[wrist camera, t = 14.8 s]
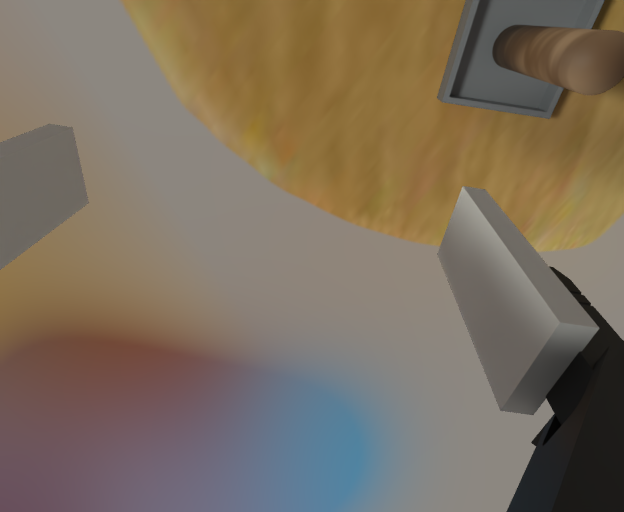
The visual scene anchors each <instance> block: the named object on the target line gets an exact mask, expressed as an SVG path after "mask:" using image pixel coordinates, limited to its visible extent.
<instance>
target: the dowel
mask: <svg viewBox="0 0 624 512" xmlns="http://www.w3.org/2000/svg"><path fill="white" fill-rule="evenodd" d="M492 55H493V59H494V61H495V63H496V64H497V65H498V66H500V67H502V68H505V69H508V70H511V71H514V72H517V73H520V74H523V75H526V76H529V77H532V78H535V79H538V80H541V81H544V82H547V83H550V84H553V85H556V86H559V87H562V88H565V89H568V90H571V91H574V92H577V93H580V94H584V95H597V94H600V93H603V92H605V91H607V90H609V89H611V88H612V87H614V86H615V85H616V84H617V83H619V82H620V81H621V80H622V78H623V77H624V33H623V32H620V31H612V30H596V29H580V28H564V27H548V26H532V25H513V26H510V27H508V28H506V29H505V30H503V31H502V32H501V33H500V34H499V35H498V37H497V38H496V40H495V42H494V45H493V49H492Z"/></svg>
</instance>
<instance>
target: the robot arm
mask: <svg viewBox="0 0 624 512" xmlns="http://www.w3.org/2000/svg"><path fill="white" fill-rule="evenodd" d="M88 203H89V202H88V197H87V193H86V188H85V183H84V179H83V174H82V169H81V165H80V160H79V156H78V151H77V146H76V141H75V137H74V132H73V128H72V127H67V126H60V125H53V124H48V125H45V126H43V127H40V128H37V129H34V130H32V131H29V132H26V133H24V134H21V135H19V136H16V137H13V138H11V139H8V140H6V141H3V142H0V270H1V269H2V268H3V267H5V266H6V265H7V264H8V263H10V262H11V261H12V260H14V259H15V258H16V257H18V256H19V255H20V254H22V253H23V252H24V251H26V250H27V249H28V248H30V247H31V246H32V245H34V244H35V243H36V242H38V241H39V240H40V239H42V238H43V237H44V236H45V235H47V234H48V233H50V232H51V231H52V230H54V229H55V228H56V227H57V226H59V225H60V224H62V223H63V222H64V221H65V220H67V219H68V218H69V217H71V216H72V215H73V214H75V213H76V212H77V211H79V210H80V209H81V208H83V207H84V206H85V205H86V204H88ZM437 255H438V257H439V260H440V262H441V265H442V267H443V270H444V272H445V275H446V277H447V280H448V282H449V285H450V287H451V290H452V292H453V294H454V297H455V299H456V302H457V304H458V307H459V309H460V312H461V314H462V317H463V319H464V321H465V324H466V327H467V329H468V331H469V334H470V337H471V339H472V341H473V344H474V346H475V349H476V351H477V354H478V356H479V359H480V361H481V364H482V366H483V369H484V371H485V374H486V376H487V379H488V381H489V384H490V386H491V388H492V391H493V393H494V396H495V398H496V401H497V403H498V406H499V408H500V410H501V411H507V412H514V413H521V414H529V415H534V413H535V412H536V411H537V410H538V408H539V407H540V406H541V404H542V403H543V402H544V400H545V399H546V398H547V400H548V402H549V404H550V406H551V407H552V409H553V411H554V413H555V414H554V415H553V416H552V418H551V419H550V420H549V421H548V423H547V424H546V425H545V426H544V427H543V429H542V430H541V431H540V432H539V434H538V435H537V436H536V437H535V438H534V440H533V441H532V444H534V445H535V446H536V448H535V451H534V453H533V455H532V457H531V459H530V461H529V464H528V466H527V468H526V470H525V472H524V475H523V477H522V479H521V481H520V483H519V486H518V488H517V490H516V492H515V494H514V497H513V499H512V501H511V503H510V505H509V508H508V510H507V512H624V341H623V340H622V339H621V338H620V337H619V336H618V334H617V333H616V332H615V331H614V330H613V329H612V327H611V326H610V325H609V324H608V323H607V322H606V320H605V319H604V318H603V317H602V316H601V315H600V313H599V312H598V311H597V310H596V309H595V308H594V307H593V306H591V303H590V302H589V301H588V300H587V298H586V297H585V296H584V295H581V292H580V290H579V289H578V288H577V287H576V286H575V285H574V284H573V282H572V281H571V280H570V279H569V278H567V277H566V276H565V275H563V274H562V273H560V272H559V271H557V270H556V269H555V268H553V267H549V266H548V265H547V264H546V263H545V261H544V260H543V259H542V258H541V257H540V255H539V254H538V253H537V252H536V251H535V249H534V248H533V247H532V246H531V244H530V243H529V242H528V241H527V240H526V238H525V237H524V236H523V235H522V234H521V232H520V231H519V230H518V229H517V228H516V226H515V225H514V224H513V223H512V221H511V220H510V219H509V218H508V217H507V215H506V214H505V213H504V212H503V211H502V209H501V208H500V207H499V206H498V204H497V203H496V202H495V201H494V200H493V198H492V197H491V196H490V195H489V194H488V192H487V191H486V190H485V189H478V188H472V187H465V186H463V187H462V190H461V193H460V195H459V198H458V200H457V203H456V206H455V208H454V211H453V214H452V216H451V219H450V222H449V224H448V227H447V229H446V232H445V235H444V237H443V240H442V243H441V245H440V248H439V251H438V253H437Z"/></svg>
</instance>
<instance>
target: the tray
mask: <svg viewBox="0 0 624 512" xmlns="http://www.w3.org/2000/svg"><path fill="white" fill-rule="evenodd" d="M604 1H605V0H466V2H465V5H464V9H463V12H462V15H461V19H460V22H459V25H458V29H457V32H456V35H455V39H454V42H453V46H452V49H451V52H450V56H449V59H448V62H447V66H446V69H445V73H444V76H443V79H442V83H441V86H440V89H439V93H438V96H437V98H438V99H439V100H440V101H441V102H444V103H451V104H457V105H464V106H470V107H477V108H483V109H490V110H496V111H503V112H509V113H515V114H522V115H528V116H535V117H541V118H548V119H550V117H551V115H552V112H553V110H554V108H555V106H556V104H557V102H558V99H559V97H560V95H561V93H562V91H563V89H564V88H562V87H559V86H556V85H553V84H550V83H547V82H544V81H541V80H538V79H535V78H532V77H529V76H526V75H523V74H520V73H517V72H514V71H511V70H508V69H505V68H502V67H500V66H498V65H497V64H496V63H495V61H494V59H493V55H492V49H493V45H494V42H495V40H496V38H497V37H498V35H499V34H500V33H501V32H502V31H503V30H505V29H506V28H508V27H510V26H513V25H532V26H548V27H564V28H580V29H592V26H593V24H594V22H595V20H596V18H597V16H598V14H599V11H600V9H601V7H602V5H603V3H604Z"/></svg>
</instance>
